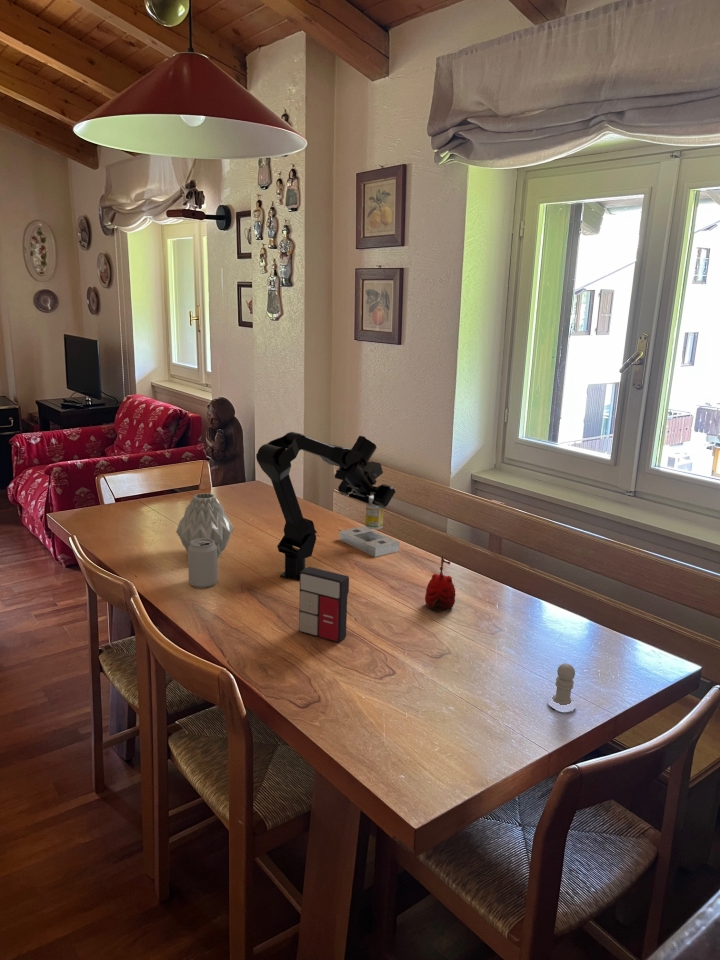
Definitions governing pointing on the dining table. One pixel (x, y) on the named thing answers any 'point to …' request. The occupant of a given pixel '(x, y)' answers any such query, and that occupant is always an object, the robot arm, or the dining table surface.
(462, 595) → the dining table surface
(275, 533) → the dining table surface
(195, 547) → the can
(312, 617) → the grey and red box
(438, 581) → the red lumpy oval
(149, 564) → the dining table surface
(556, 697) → the chess piece
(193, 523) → the vase
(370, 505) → the supplement bottle
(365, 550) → the light grey flat slab
